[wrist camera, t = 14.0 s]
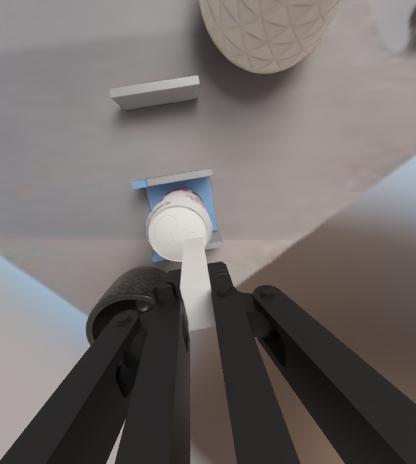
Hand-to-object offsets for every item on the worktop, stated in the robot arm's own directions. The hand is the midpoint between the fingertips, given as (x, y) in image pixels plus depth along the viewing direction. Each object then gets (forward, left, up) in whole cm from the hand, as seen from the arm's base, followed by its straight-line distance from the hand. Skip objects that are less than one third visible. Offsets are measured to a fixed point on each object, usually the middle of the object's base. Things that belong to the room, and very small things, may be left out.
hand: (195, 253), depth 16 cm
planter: (+16, -12, -23) cm, 30 cm away
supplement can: (0, -2, -23) cm, 23 cm away
